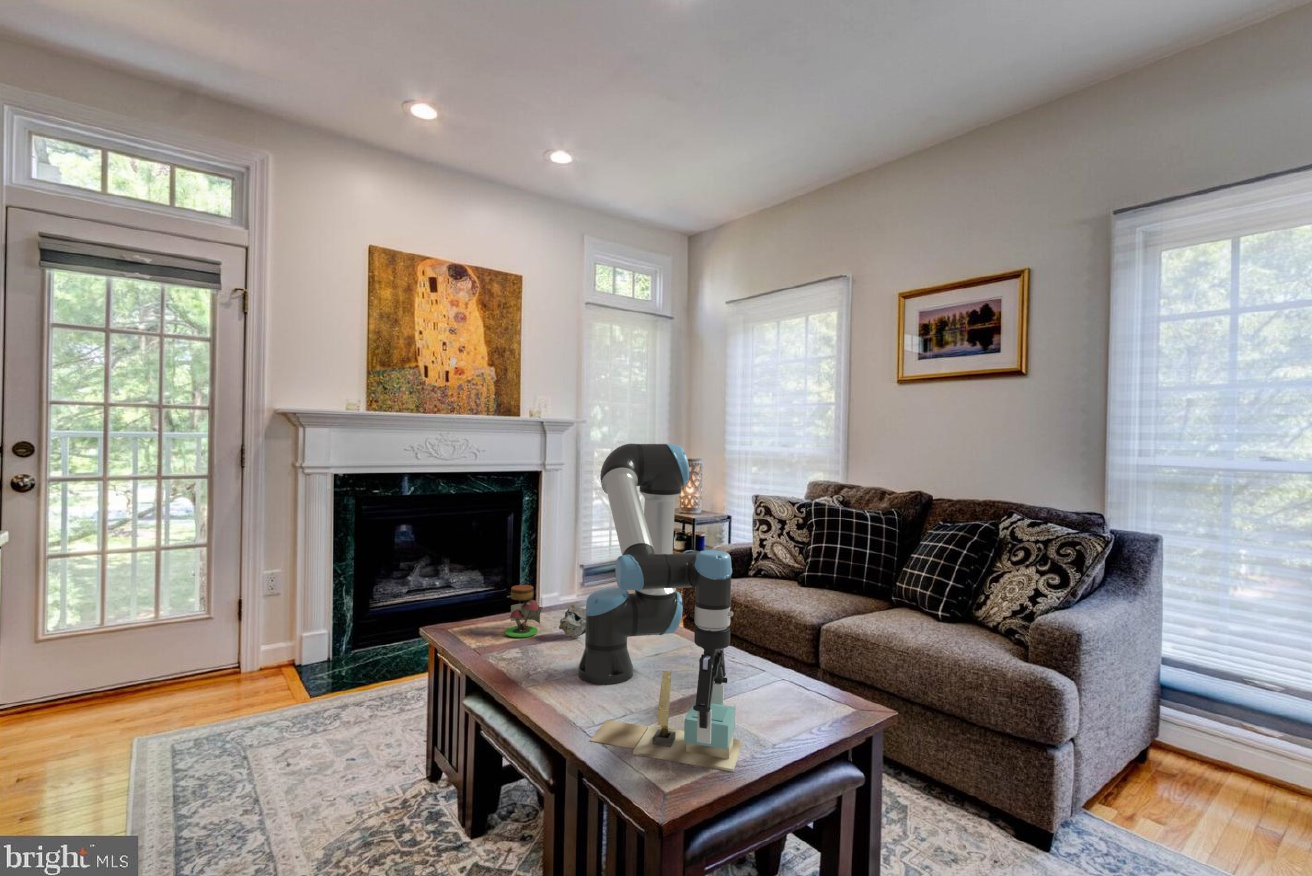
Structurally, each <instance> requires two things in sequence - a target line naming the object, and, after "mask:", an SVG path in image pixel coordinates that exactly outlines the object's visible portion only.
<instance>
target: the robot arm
mask: <svg viewBox="0 0 1312 876" xmlns="http://www.w3.org/2000/svg"><path fill="white" fill-rule="evenodd" d="M599 477H600V485H601V487H602V491H603V492H604V493H605V494H606V495H607V498H608V501H609V506H610V509H611V510H610V511H611V514H612V520H613V523H614V527H615V532H616V536H617V540H618V544H619V549H620V554H621V555H620V556H618V557H617V558H616V561H615V567H614V568H615V572H614V573H615V582H616V584H617V586H618V587H614V586H613V587H606V588H602V589H598V590H596V591H593V592H592V593H589V595H588V597H587V598H586V603H585V609H586V611H585V614H586V633H584V634H585V636H584V637H585V641H584V642H585V643H584V650H583V652H582V656H581V659H580V662H579V664H578V671H577V675H578V678H579V680H580V681H583V682H584V683H586V684H587V683H588V684H590V685H595V686H612V685H613V686H615V685H619V684H623V683H626V682H628V681H630V679H632V677H633V674H634V666H633V664H632V660H631V655H630V653H629V649H628V638H629V637H642V636H646V637H648V636H663V635H667V634H668V635H669V634H673V633H675V632H676V631H677V630H678V629H679V627H680V626H681V625H680V624H681V622H682V617H683V610H684V609H683V607H684V606H683V598H682V596H681V594H680V592H679V591H677V589H680V588H681V589H682V588H693V589H694V619H693V620H694V621H693V622H694V624H695V626H694V634H693V635H694V644H695V645H696V646H697V647H699V648H702V649H703V653H702V654H701V656H700V658H699V660H698V662H699V666H698V669H699V670H698V677H697V678H698V679H697V689H696V696H695V697H696V698H695V701H696V705H695V706H693V710H695V711H697V742H700V743H706V744H711V713H712V710H711V708H710V706H711V703H712V704H719V705H724V699H725V698H724V694H725V693H724V692H725V691H724V690H725V687H724V686H725V684H728V677H726V675H727V673H726V664H725V662H726V661H725V652H724V651H725V650H724V649H726V648H728V647H729V646H730V645H731V628H730V626H731V617H733V616H734V612H733V611H732V610H731V606H732V605H731V604H732V603H731V602H732V601H731V600H732V574H733V568H732V558H731V555H730V554H729V553H728V552H727V551H722V550H718V549H717V550H716V549H715V550H714V549H707V550H706V549H705V550H700V551H699V550H692V549H689V550H684V551H682V552H681V553H674V552H673V551H674V530H675V513H676V512H675V511H676V509H675V507H676V499H677V498H678V497H679V496H680V495H681V493H682V488H684V487H686V486H687V485H688V483H689V480H690V464H689V459H688V456H687V454H686V451H685V450H684V448H683V447H682V446H680V445H678V444H671V443H670V444H669V443H626V444H623V445H620V446H618V447H616V448H615V449H613V450H612V451H611V452H610V453H609V454H608V455H607V457H606V458H605V460H604V461H603V463H602V466H601V469H600V475H599ZM637 487H639V493H640V495H642V496H643V498H644V501H643V502H644V504H643V505H644V507H643V506H642V503H641V499H640V496H639V493H638V489H637ZM629 591H634V592H633V593H629ZM703 704H704V705H703Z"/></svg>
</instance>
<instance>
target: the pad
mask: <svg viewBox="0 0 1312 876" xmlns="http://www.w3.org/2000/svg"><path fill="white" fill-rule="evenodd" d="M648 728H649V726H646V725H641V724H636V723H635V724H634V723H629V722H628V723H627V722H622V721H616V720H610V719H606V720H605V722H604V723H603V724H602V725H601V727H599V729H598V730H597V732H596V733H595V734H594V735H593V736H592V737H591V738H590V739H589V742H591V743H592V742H593V743H598V744H603V745H608V746H615V747H620V748H625V749H631V750H634V749H635V748H636V746H637V745H638V743H639V742H640V740H641V738H642V737H643V735H644V734H645V732H646V731H647V729H648Z"/></svg>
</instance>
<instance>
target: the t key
mask: <svg viewBox="0 0 1312 876" xmlns="http://www.w3.org/2000/svg"><path fill="white" fill-rule="evenodd" d="M661 675H662V676H661V684H660V689H659V691H660V692H659V698H658V699H659V700H658V706H657V726H660V727H661V736H660V737H662V738H668V728H669V714H670V704H671V692H672V671H664V670H663V671H662V674H661Z"/></svg>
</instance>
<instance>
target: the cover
mask: <svg viewBox="0 0 1312 876" xmlns="http://www.w3.org/2000/svg"><path fill="white" fill-rule="evenodd" d="M695 705H696V700H694V701H693V703H692V704H691V707H690V708H689V711H688V712H687V714H686V716H685V718H684V725H683V726H684V730H683V731H684V742H686V743H692V744H697V745H703V746H709V747H715V748H721V749H727V750H728V747H729V744H730V741H731V739H732V736H733V737H734V733H735V730H736V706H731V705H725V704H723V705H719V704H712V703H711V706H710V708H711V710H712V713H711V744H706V743H700V742H697V711H695V710H693V706H695ZM703 705H704V704H703Z"/></svg>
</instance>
